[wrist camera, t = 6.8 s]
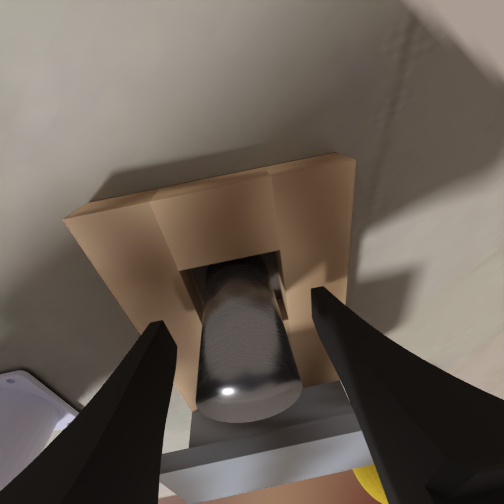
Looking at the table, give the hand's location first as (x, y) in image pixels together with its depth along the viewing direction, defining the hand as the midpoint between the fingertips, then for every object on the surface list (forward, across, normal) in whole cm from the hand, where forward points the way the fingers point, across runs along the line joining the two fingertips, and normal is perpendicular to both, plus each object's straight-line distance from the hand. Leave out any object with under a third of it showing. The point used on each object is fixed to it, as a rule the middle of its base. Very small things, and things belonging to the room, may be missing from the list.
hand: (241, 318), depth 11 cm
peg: (+3, 0, 0) cm, 3 cm away
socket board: (+3, 0, +3) cm, 5 cm away
